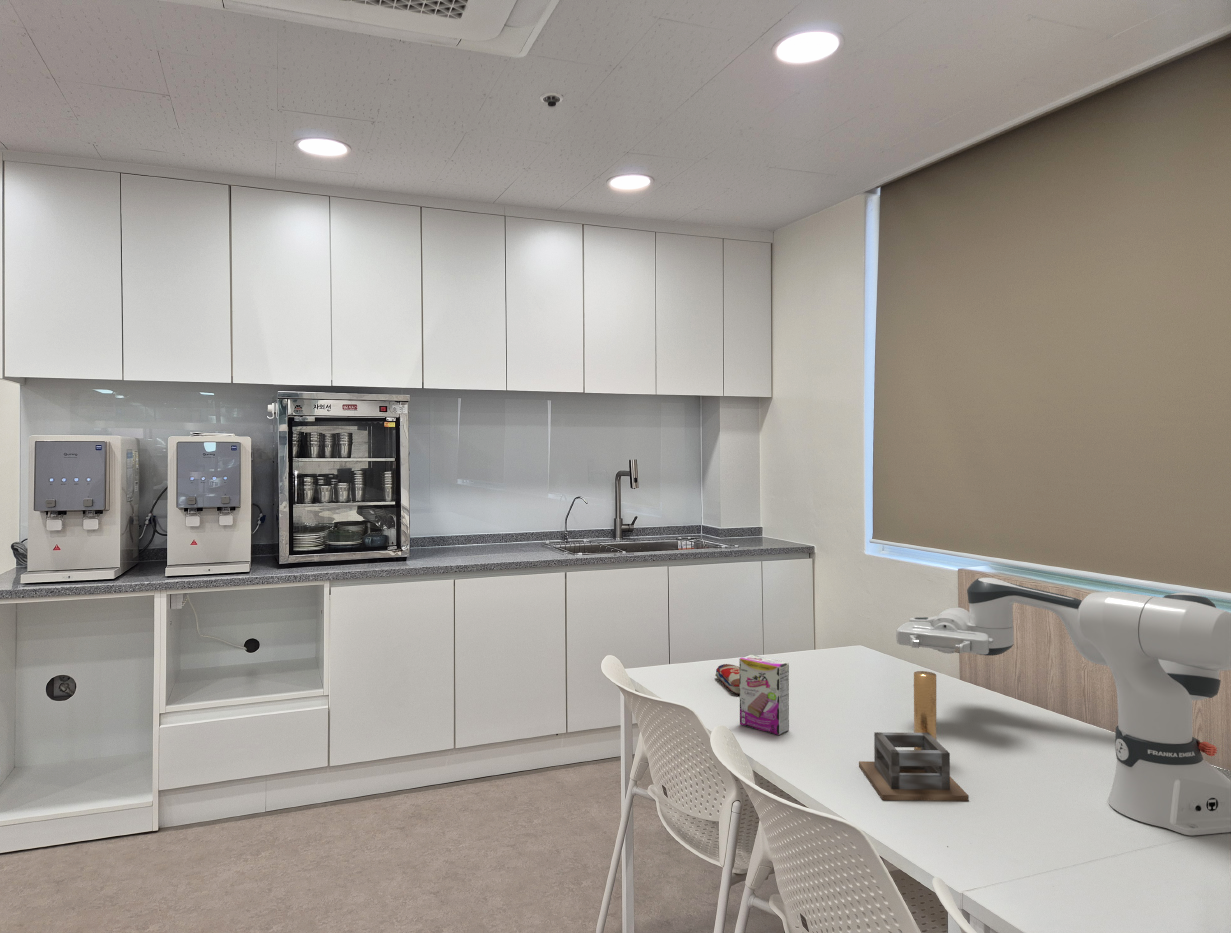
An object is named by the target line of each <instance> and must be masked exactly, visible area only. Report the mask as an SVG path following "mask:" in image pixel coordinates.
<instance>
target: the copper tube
mask: <svg viewBox="0 0 1231 933" xmlns="http://www.w3.org/2000/svg"><path fill="white" fill-rule="evenodd" d="M913 733H929V734H930V735H931V736H932V737H933V738H935V739H936V740H937V674H936V673H935V672H932V671H925V670H918V671H914V672H913ZM937 741H938V740H937ZM913 750H921V748H916V747H913Z"/></svg>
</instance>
